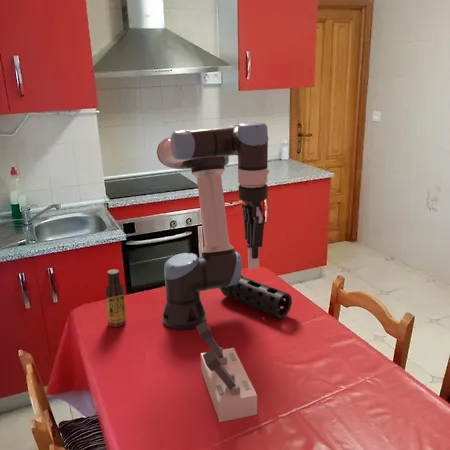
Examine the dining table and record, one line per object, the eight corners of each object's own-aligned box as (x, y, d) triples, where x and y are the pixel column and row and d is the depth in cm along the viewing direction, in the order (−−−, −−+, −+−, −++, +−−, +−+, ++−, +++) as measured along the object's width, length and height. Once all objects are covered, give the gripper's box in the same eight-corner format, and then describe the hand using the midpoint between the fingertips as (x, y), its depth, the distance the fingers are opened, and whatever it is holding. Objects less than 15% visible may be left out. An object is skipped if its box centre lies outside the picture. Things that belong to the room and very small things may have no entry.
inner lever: (222, 348, 137) (205, 321, 133) (226, 356, 133) (208, 329, 129) (213, 353, 137) (196, 326, 132) (216, 362, 133) (199, 334, 128)
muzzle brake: (275, 325, 163) (275, 298, 160) (217, 300, 182) (216, 275, 178) (292, 314, 170) (292, 288, 166) (234, 291, 188) (233, 267, 185)
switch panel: (234, 364, 143) (233, 341, 140) (257, 414, 122) (257, 388, 120) (201, 370, 140) (200, 347, 138) (219, 422, 120) (218, 396, 118)
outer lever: (233, 375, 125) (212, 348, 121) (238, 385, 121) (216, 358, 117) (224, 381, 125) (202, 355, 121) (228, 392, 121) (206, 365, 117)
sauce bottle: (110, 329, 163) (104, 277, 157) (106, 321, 168) (99, 270, 162) (129, 324, 166) (123, 272, 159) (124, 316, 171) (118, 266, 165)
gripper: (275, 188, 118) (274, 275, 125) (258, 177, 129) (259, 257, 137) (246, 191, 116) (247, 279, 124) (232, 179, 128) (234, 260, 135)
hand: (253, 267), depth 130 cm, fingers closed
